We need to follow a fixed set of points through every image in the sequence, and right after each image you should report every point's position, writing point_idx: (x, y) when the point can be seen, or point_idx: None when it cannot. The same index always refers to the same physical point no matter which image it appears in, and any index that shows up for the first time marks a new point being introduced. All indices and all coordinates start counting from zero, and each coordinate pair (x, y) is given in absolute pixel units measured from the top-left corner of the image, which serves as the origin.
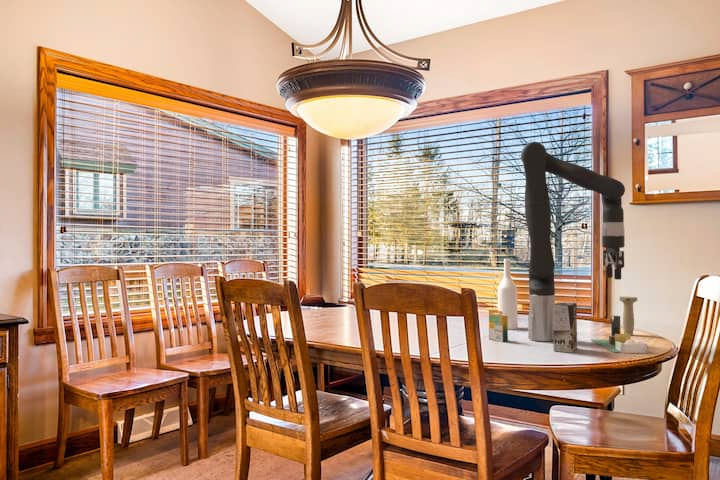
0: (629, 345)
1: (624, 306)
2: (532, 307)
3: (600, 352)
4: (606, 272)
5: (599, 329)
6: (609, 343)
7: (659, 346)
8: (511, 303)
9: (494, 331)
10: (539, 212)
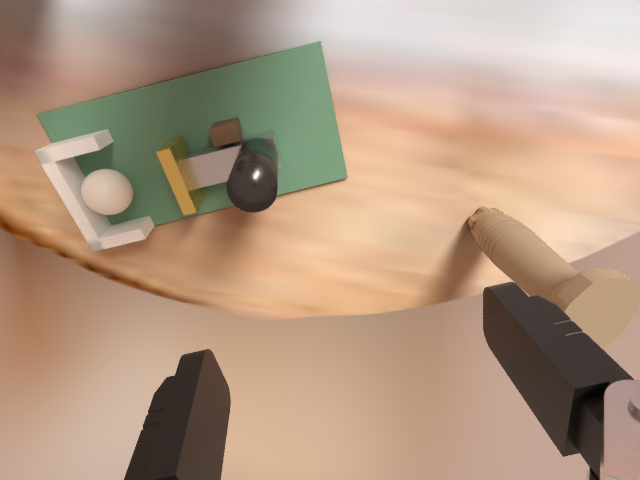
0: (58, 185)
1: (554, 270)
2: None
3: (18, 51)
4: (525, 328)
5: (627, 119)
6: (233, 118)
7: (261, 286)
8: None
9: None
10: None
